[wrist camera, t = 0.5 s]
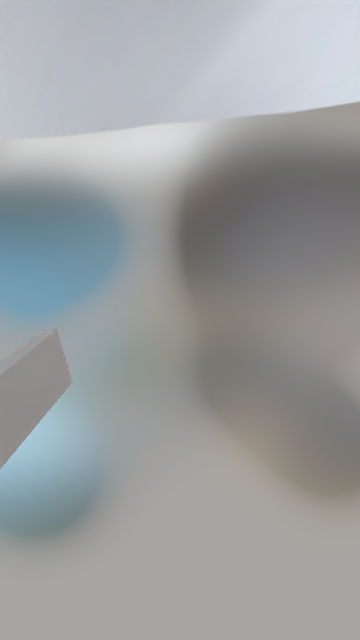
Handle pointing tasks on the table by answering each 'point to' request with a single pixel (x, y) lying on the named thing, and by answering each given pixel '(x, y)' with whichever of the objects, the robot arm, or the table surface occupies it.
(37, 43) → the table surface
